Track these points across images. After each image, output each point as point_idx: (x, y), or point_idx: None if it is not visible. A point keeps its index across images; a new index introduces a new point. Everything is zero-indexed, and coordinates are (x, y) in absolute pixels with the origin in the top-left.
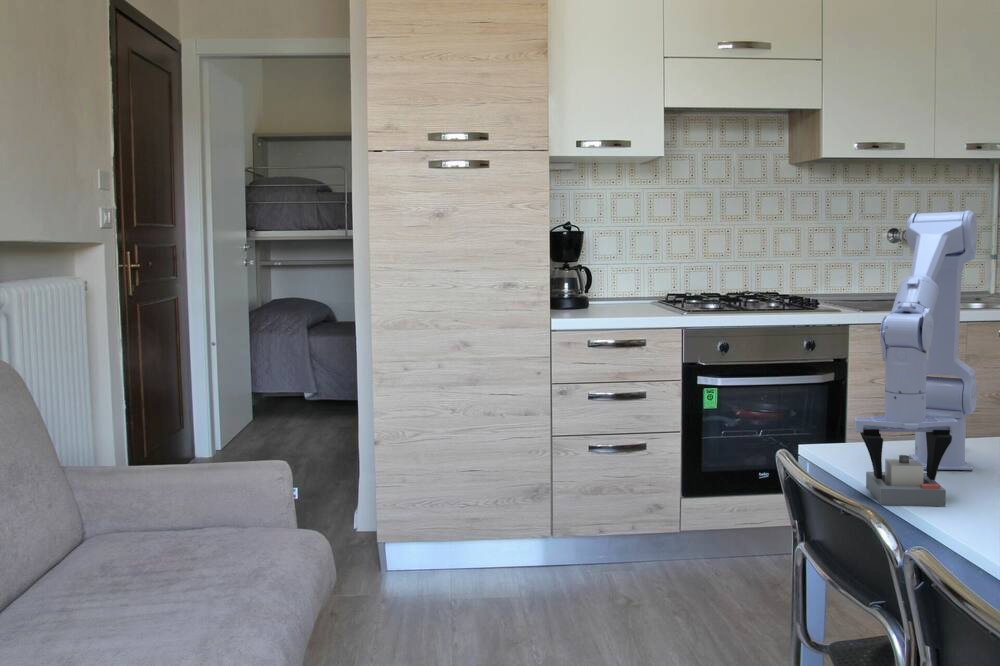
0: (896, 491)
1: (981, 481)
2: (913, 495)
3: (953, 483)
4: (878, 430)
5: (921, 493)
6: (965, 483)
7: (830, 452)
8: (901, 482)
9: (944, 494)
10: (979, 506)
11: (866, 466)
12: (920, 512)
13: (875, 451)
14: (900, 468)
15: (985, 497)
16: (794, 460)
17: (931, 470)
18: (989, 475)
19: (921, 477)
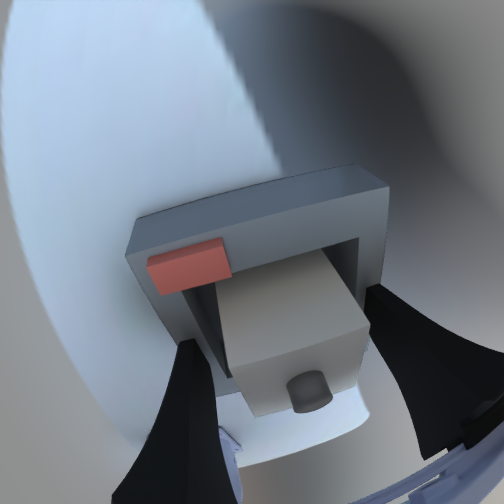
0: (328, 195)
1: (117, 409)
2: (255, 203)
3: (158, 395)
4: (475, 443)
5: (223, 217)
6: (137, 399)
7: (343, 423)
8: (302, 284)
9: (131, 243)
10: (52, 261)
11: None
12: (223, 106)
13: (460, 347)
14: (330, 327)
15: (69, 337)
16: None
17: (193, 367)
18: (118, 427)
19: (229, 322)
